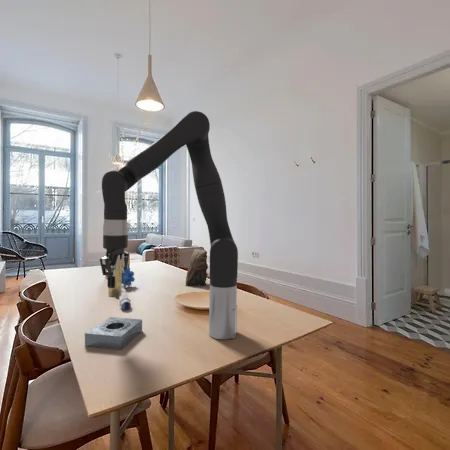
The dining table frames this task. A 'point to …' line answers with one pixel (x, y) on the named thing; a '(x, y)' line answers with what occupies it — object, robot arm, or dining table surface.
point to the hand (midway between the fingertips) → (115, 285)
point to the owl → (197, 269)
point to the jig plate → (113, 333)
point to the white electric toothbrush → (124, 300)
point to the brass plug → (117, 282)
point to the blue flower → (128, 277)
